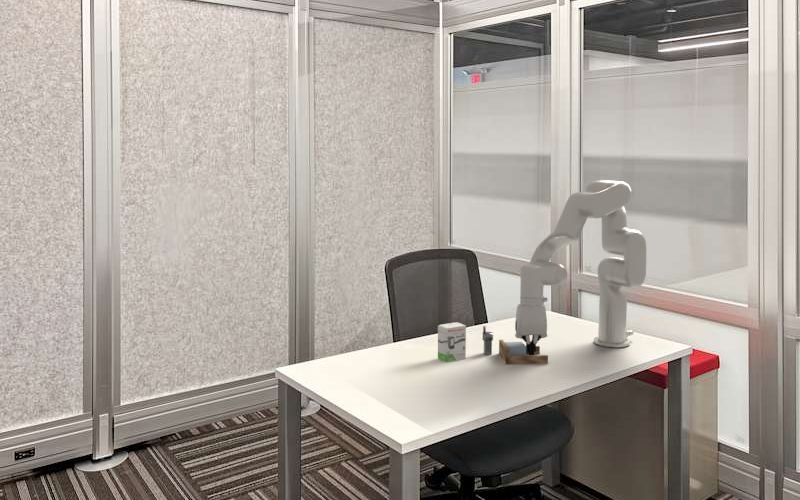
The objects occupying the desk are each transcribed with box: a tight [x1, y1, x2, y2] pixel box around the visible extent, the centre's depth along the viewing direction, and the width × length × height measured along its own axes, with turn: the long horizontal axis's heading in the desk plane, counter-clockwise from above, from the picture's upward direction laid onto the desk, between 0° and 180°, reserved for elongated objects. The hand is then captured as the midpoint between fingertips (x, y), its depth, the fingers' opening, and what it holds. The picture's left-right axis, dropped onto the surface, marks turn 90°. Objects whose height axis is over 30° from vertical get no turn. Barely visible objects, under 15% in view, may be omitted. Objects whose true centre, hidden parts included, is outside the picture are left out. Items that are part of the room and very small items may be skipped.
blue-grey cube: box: [504, 341, 527, 356], centre depth 226 cm, size 6×6×5 cm
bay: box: [498, 339, 549, 365], centre depth 226 cm, size 14×12×5 cm
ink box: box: [437, 321, 467, 363], centre depth 226 cm, size 9×5×12 cm, turn 120°
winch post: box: [482, 325, 494, 356], centre depth 232 cm, size 4×4×10 cm
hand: (530, 354), depth 227 cm, fingers closed
